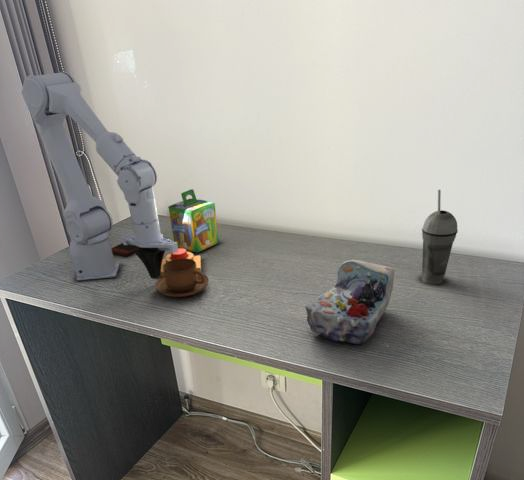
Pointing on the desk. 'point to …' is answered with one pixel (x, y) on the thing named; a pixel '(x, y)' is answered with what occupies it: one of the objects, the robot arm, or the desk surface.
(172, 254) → the button
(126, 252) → the smartphone
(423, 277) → the beverage cup
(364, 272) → the cell model
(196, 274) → the cup and saucer
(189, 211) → the chalk box
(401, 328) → the desk surface
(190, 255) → the box
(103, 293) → the desk surface
